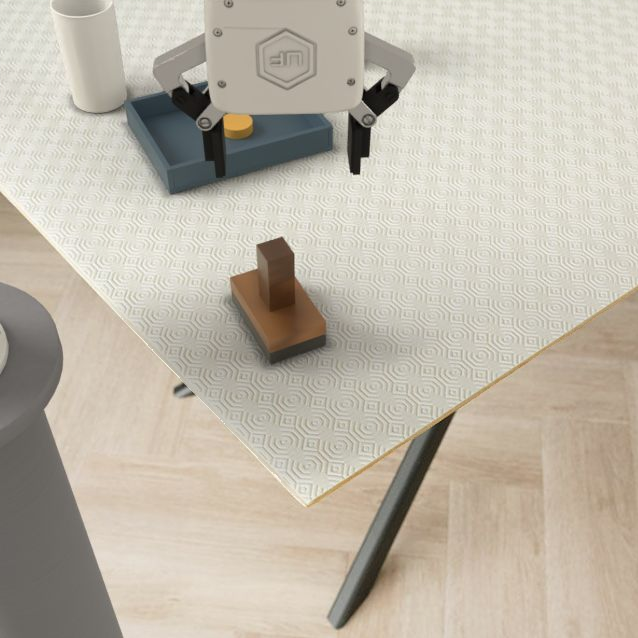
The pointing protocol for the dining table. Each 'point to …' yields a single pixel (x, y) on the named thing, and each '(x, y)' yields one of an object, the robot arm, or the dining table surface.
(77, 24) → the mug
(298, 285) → the brush
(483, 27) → the dining table surface
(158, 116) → the tray
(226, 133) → the orange disc
